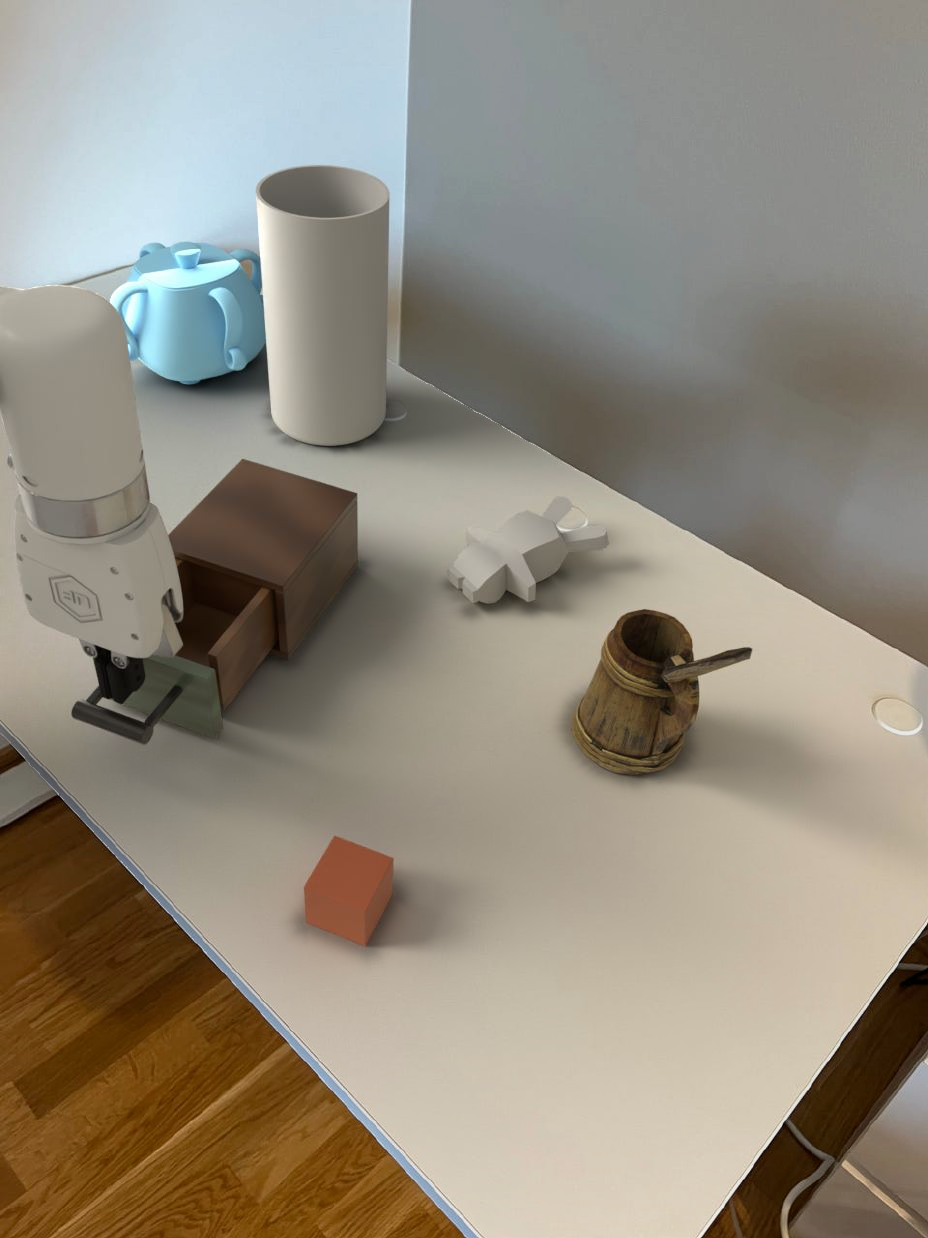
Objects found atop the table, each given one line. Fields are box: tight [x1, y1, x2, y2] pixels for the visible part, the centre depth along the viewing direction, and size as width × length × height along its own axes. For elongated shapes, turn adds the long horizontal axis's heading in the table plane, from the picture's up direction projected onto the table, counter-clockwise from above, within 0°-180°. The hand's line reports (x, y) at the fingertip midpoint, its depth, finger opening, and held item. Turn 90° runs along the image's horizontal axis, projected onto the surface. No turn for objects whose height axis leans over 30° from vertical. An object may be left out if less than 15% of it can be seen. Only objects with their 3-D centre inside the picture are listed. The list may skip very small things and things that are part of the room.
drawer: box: [71, 557, 279, 746], centre depth 84 cm, size 18×10×7 cm, turn 158°
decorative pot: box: [109, 241, 266, 385], centre depth 120 cm, size 16×16×14 cm
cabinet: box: [167, 458, 359, 661], centre depth 94 cm, size 14×12×9 cm
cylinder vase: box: [255, 164, 391, 447], centre depth 109 cm, size 12×12×25 cm
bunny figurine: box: [447, 495, 610, 605], centre depth 100 cm, size 10×5×15 cm
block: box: [303, 835, 395, 947], centre depth 73 cm, size 4×4×4 cm
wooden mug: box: [570, 608, 753, 776], centre depth 80 cm, size 9×14×18 cm, turn 20°
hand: (124, 688), depth 79 cm, fingers closed
